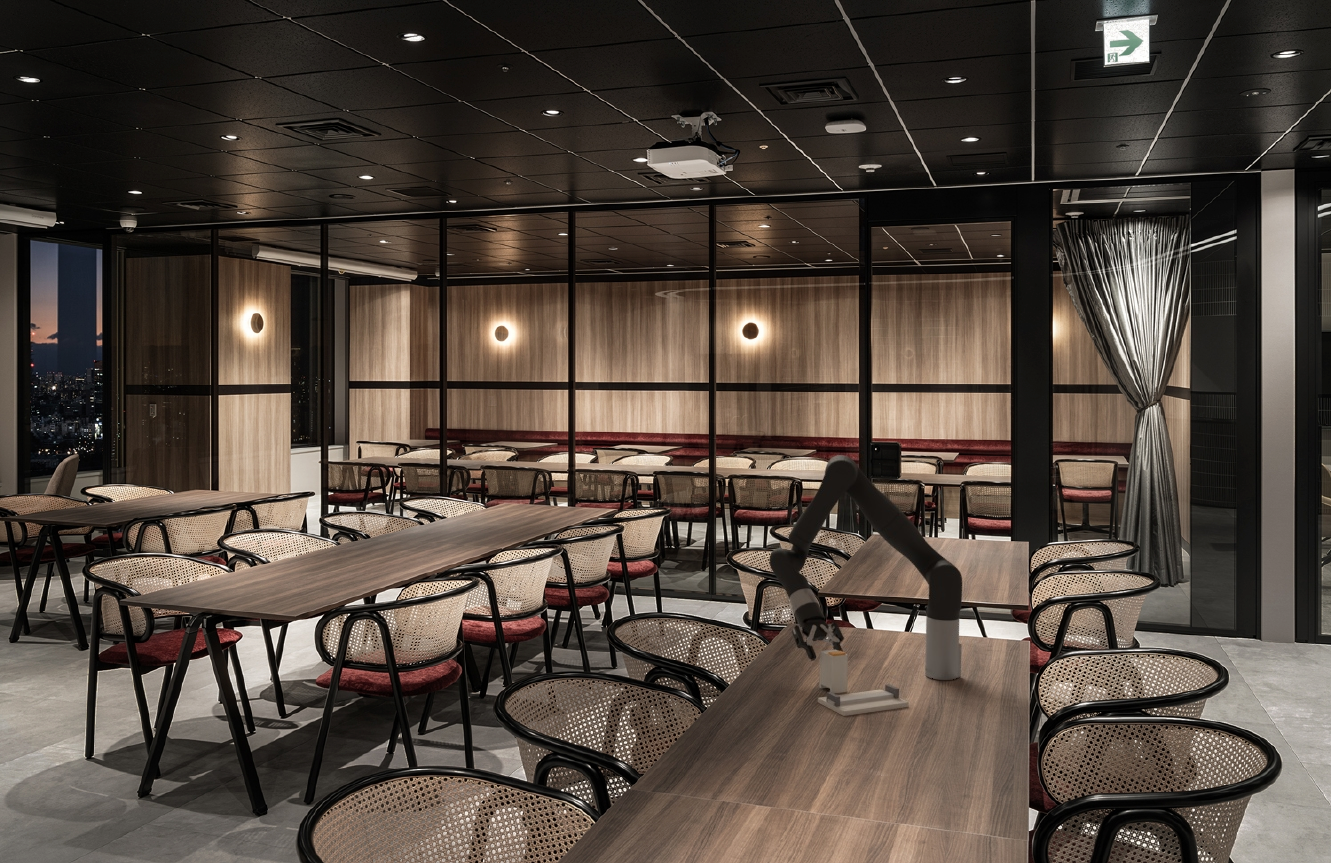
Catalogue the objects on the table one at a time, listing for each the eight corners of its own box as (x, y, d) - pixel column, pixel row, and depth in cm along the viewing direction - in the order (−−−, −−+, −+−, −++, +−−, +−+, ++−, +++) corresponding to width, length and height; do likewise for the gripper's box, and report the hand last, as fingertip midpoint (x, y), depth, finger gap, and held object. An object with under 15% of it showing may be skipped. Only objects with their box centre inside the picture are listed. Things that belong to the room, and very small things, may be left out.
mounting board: (880, 693, 274) (881, 680, 274) (908, 706, 263) (908, 692, 263) (817, 702, 266) (818, 688, 266) (843, 715, 255) (844, 701, 255)
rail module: (834, 685, 281) (835, 647, 280) (846, 691, 275) (847, 652, 275) (819, 687, 279) (820, 649, 278) (831, 693, 273) (832, 654, 273)
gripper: (789, 602, 284) (810, 653, 274) (832, 599, 290) (854, 648, 280) (779, 617, 289) (800, 667, 279) (822, 613, 295) (843, 662, 285)
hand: (827, 657), depth 280 cm, fingers open, 8 cm apart
